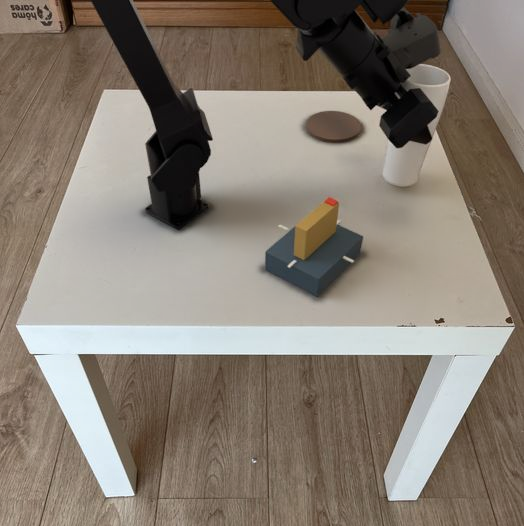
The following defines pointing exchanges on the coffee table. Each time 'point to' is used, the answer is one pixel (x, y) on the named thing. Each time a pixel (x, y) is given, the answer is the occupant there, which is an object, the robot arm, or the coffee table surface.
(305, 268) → the base
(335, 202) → the tap handle
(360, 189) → the coffee table surface
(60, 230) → the coffee table surface
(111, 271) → the coffee table surface
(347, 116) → the coaster
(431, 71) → the drinking glass
